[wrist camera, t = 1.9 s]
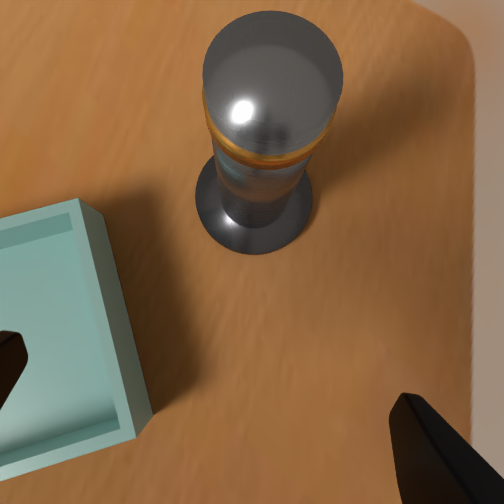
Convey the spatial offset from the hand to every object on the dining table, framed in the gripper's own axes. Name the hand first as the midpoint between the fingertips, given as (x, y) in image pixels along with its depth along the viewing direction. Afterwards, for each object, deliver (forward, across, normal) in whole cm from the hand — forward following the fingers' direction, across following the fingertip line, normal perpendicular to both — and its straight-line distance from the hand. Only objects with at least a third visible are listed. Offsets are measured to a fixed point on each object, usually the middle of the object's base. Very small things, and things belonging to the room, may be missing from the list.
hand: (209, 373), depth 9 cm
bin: (+8, -12, -10) cm, 17 cm away
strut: (+15, 0, -3) cm, 15 cm away
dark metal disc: (+15, 0, -3) cm, 16 cm away
